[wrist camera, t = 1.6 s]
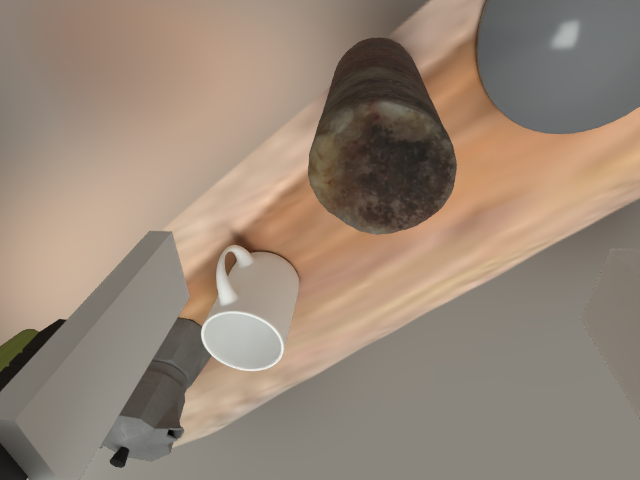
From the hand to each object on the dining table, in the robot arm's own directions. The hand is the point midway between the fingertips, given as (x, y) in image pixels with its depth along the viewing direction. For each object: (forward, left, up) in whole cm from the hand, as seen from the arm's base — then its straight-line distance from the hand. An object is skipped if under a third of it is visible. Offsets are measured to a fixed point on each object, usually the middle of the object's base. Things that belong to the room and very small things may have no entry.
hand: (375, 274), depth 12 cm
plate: (-4, +16, -27) cm, 32 cm away
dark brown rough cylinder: (0, 0, -28) cm, 28 cm away
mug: (+21, -13, -28) cm, 37 cm away
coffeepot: (+35, -27, -28) cm, 52 cm away
